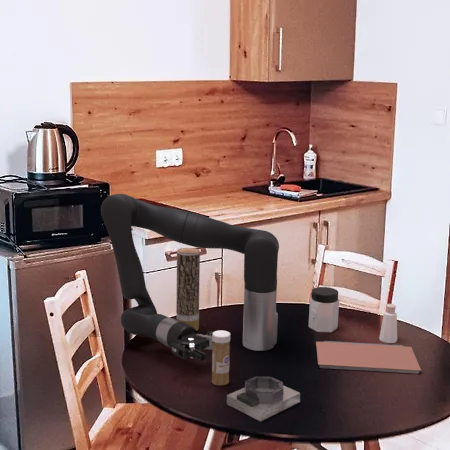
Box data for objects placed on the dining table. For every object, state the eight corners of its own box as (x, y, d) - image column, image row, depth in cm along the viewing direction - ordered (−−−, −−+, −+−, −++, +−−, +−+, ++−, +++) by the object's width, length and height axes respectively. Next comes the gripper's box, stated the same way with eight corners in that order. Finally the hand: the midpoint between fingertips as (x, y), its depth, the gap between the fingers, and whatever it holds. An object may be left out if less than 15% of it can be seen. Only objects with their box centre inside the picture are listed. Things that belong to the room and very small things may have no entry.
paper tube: (200, 326, 216) (201, 248, 211) (197, 335, 210) (198, 254, 204) (178, 325, 217) (178, 247, 211) (174, 333, 210) (175, 253, 205)
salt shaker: (399, 343, 207) (402, 308, 204) (380, 343, 207) (383, 307, 204) (395, 336, 212) (398, 302, 210) (377, 336, 212) (379, 301, 210)
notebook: (410, 350, 203) (410, 344, 203) (420, 376, 187) (421, 369, 187) (315, 345, 206) (315, 339, 205) (317, 370, 189) (318, 363, 189)
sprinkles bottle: (223, 387, 177) (224, 337, 173) (208, 383, 179) (208, 334, 176) (232, 381, 180) (233, 331, 177) (217, 376, 183) (218, 328, 179)
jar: (303, 324, 220) (305, 288, 217) (325, 320, 224) (327, 285, 221) (320, 334, 212) (322, 297, 209) (342, 330, 216) (344, 293, 213)
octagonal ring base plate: (266, 386, 178) (266, 369, 177) (299, 402, 170) (300, 383, 169) (226, 404, 168) (227, 385, 167) (260, 421, 161) (261, 402, 159)
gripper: (155, 328, 184) (197, 347, 173) (196, 315, 194) (238, 332, 183) (155, 354, 186) (196, 375, 175) (195, 341, 196) (237, 359, 184)
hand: (217, 353), depth 179 cm, fingers open, 8 cm apart
